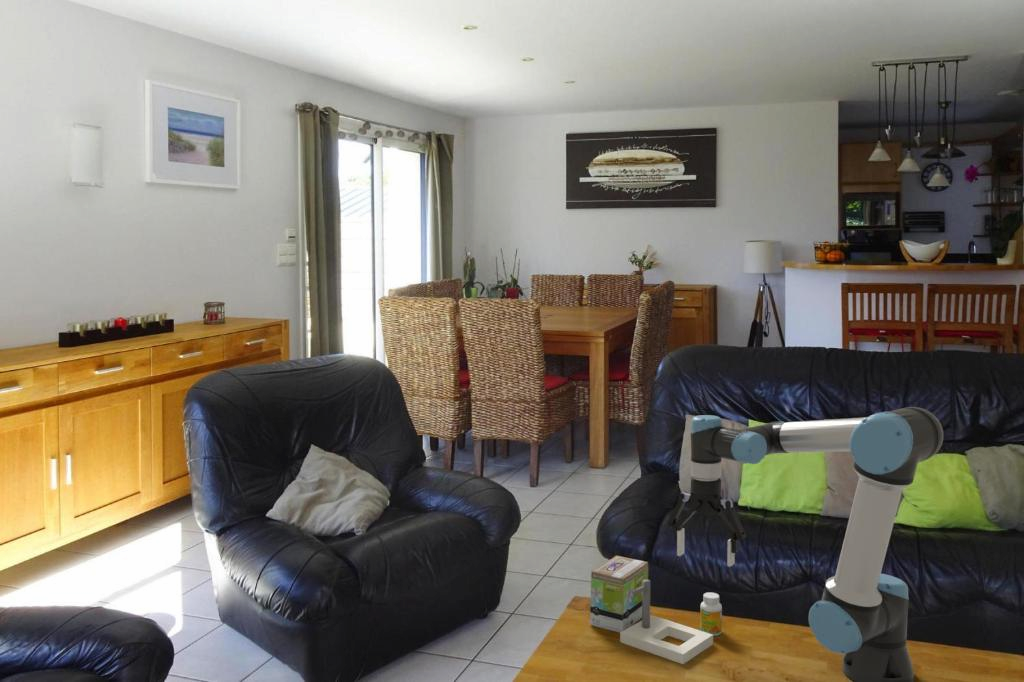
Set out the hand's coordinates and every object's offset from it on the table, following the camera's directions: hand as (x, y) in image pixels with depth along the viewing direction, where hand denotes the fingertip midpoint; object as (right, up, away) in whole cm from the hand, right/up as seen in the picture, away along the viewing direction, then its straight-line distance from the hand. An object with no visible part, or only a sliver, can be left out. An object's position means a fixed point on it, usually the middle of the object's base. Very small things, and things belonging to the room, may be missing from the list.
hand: (705, 559), depth 223 cm
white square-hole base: (-11, -20, -4) cm, 23 cm away
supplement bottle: (+2, -19, +2) cm, 19 cm away
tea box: (-20, -19, +10) cm, 30 cm away
